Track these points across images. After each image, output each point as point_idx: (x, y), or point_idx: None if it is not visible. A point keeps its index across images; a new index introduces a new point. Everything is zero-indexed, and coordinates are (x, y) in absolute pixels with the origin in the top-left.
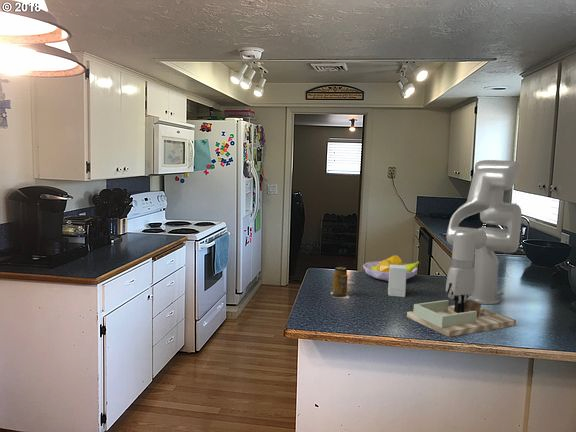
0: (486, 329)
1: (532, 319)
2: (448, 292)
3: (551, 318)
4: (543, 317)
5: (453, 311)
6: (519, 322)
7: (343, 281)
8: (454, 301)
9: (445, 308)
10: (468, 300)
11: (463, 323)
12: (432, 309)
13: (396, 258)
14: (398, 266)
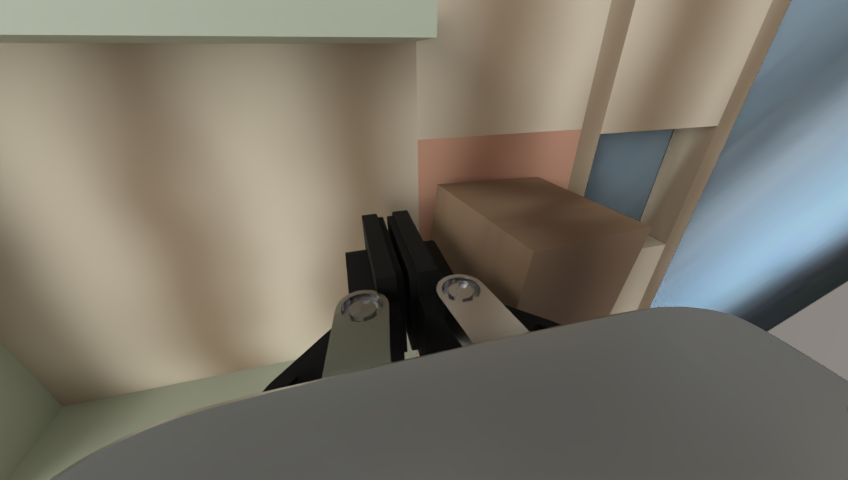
0: None
1: (751, 265)
2: (182, 431)
3: (810, 269)
4: (808, 253)
5: (440, 92)
6: (669, 288)
7: None
8: (346, 308)
9: (359, 42)
10: (557, 297)
11: None
12: (74, 41)
13: None
14: None
